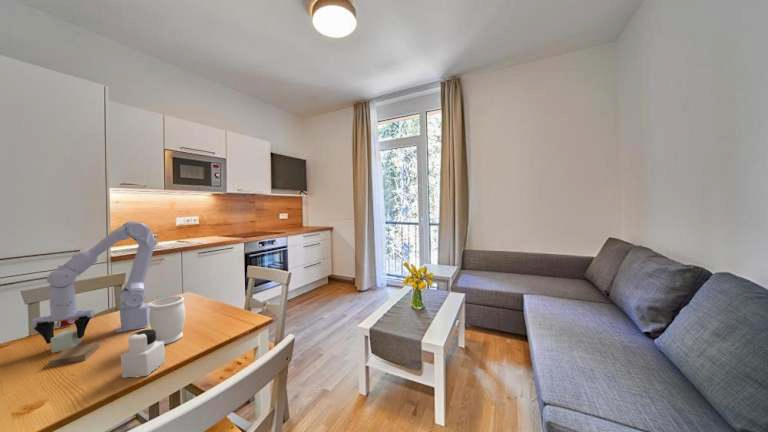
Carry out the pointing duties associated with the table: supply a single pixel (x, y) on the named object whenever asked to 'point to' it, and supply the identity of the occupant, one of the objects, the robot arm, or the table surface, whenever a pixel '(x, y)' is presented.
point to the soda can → (66, 323)
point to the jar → (167, 318)
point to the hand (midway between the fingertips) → (65, 339)
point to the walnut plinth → (74, 354)
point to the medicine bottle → (142, 354)
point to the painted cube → (64, 340)
